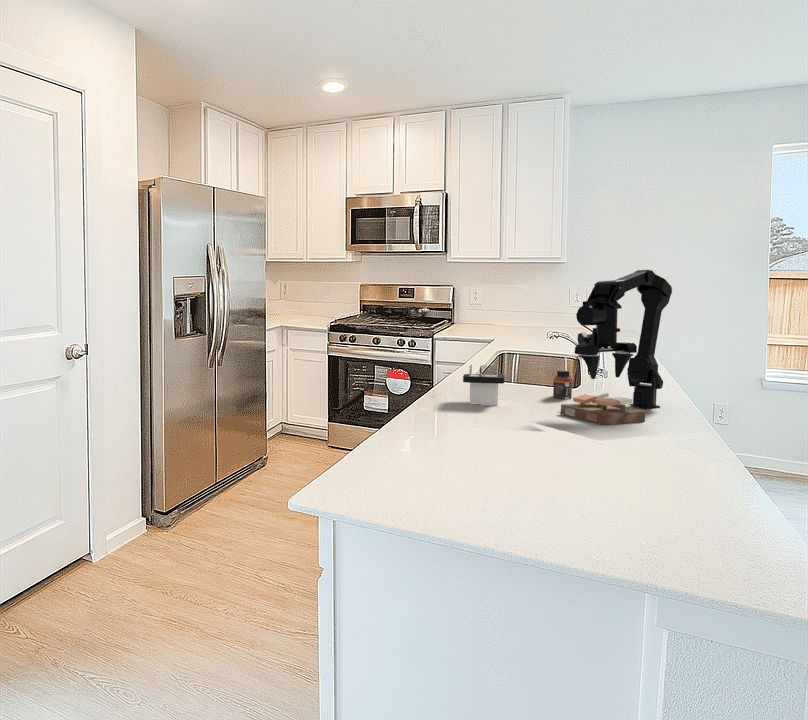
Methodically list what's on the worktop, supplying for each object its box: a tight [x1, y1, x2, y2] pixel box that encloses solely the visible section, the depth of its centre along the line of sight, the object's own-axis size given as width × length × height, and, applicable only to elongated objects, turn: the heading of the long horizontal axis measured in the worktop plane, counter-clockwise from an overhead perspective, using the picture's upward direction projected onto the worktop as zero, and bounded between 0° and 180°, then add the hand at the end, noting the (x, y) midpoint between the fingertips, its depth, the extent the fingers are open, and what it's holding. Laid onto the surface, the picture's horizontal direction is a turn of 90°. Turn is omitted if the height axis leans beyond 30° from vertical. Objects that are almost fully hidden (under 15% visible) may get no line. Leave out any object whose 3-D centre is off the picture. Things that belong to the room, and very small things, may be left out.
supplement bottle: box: [552, 369, 573, 400], centre depth 196 cm, size 6×6×11 cm
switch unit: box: [560, 402, 646, 426], centre depth 171 cm, size 15×18×5 cm
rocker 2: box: [595, 396, 633, 408], centre depth 167 cm, size 9×6×2 cm, turn 114°
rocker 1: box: [572, 390, 610, 404], centre depth 175 cm, size 9×6×2 cm, turn 114°
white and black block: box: [462, 364, 505, 407], centre depth 189 cm, size 28×26×13 cm
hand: (605, 378), depth 171 cm, fingers open, 9 cm apart
